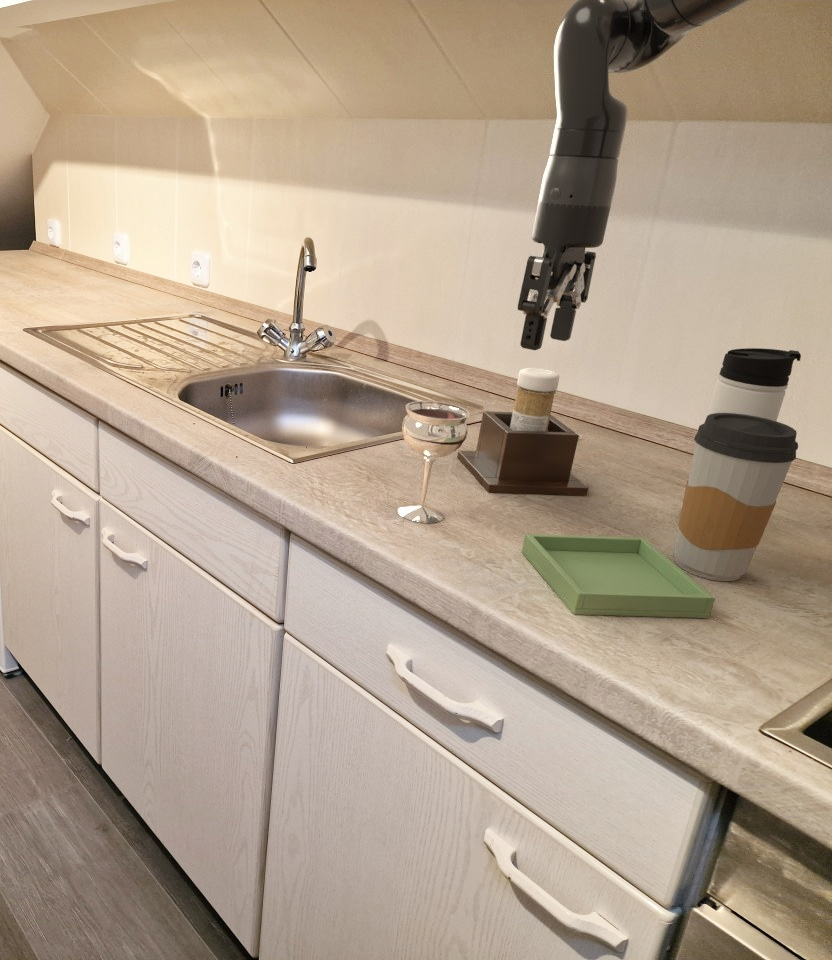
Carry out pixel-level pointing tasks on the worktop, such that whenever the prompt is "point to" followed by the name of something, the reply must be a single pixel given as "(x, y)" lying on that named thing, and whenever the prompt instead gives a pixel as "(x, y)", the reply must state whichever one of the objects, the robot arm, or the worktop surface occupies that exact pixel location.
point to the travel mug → (753, 382)
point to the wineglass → (432, 445)
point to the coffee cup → (731, 492)
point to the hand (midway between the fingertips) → (545, 344)
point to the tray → (615, 576)
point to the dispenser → (524, 458)
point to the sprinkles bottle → (534, 399)
